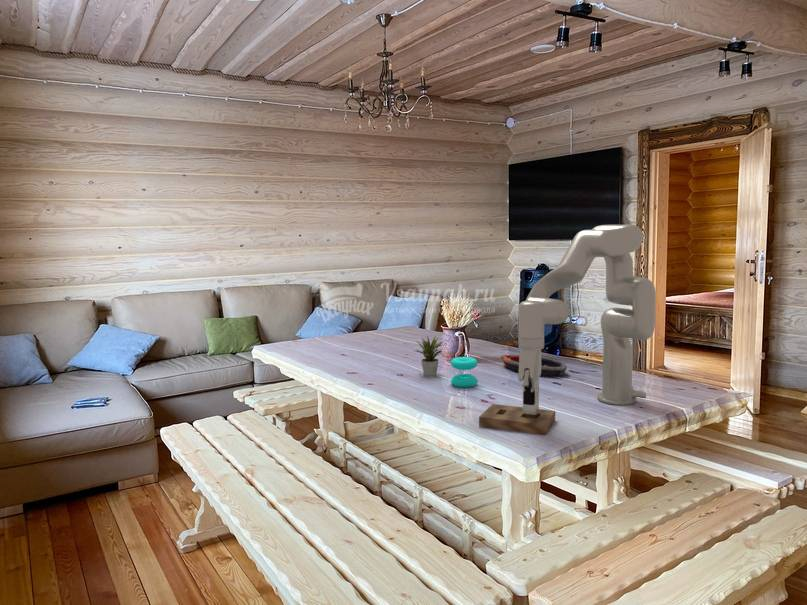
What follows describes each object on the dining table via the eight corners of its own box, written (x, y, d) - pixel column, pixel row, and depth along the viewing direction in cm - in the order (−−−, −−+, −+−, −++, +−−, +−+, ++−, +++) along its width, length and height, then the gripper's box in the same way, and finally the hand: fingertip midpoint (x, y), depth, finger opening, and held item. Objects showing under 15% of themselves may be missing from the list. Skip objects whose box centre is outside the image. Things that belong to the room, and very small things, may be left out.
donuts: (481, 360, 223) (455, 362, 221) (481, 387, 225) (456, 389, 222) (471, 355, 233) (447, 357, 231) (472, 380, 234) (447, 382, 232)
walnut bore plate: (555, 420, 185) (555, 410, 185) (545, 435, 173) (545, 425, 172) (492, 412, 194) (492, 403, 194) (479, 426, 181) (478, 416, 181)
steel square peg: (538, 411, 182) (539, 375, 181) (535, 415, 179) (536, 378, 177) (525, 409, 184) (525, 374, 182) (522, 413, 180) (522, 377, 179)
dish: (552, 381, 232) (552, 368, 231) (492, 367, 255) (492, 356, 254) (575, 374, 242) (576, 362, 241) (515, 361, 265) (515, 350, 264)
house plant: (445, 380, 235) (445, 339, 232) (411, 379, 237) (410, 339, 235) (450, 371, 248) (449, 333, 246) (417, 370, 251) (416, 332, 249)
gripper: (525, 336, 187) (525, 393, 190) (511, 347, 173) (511, 409, 175) (549, 338, 184) (549, 396, 187) (537, 349, 169) (536, 411, 172)
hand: (530, 401), depth 181 cm, fingers closed on steel square peg, 4 cm apart
